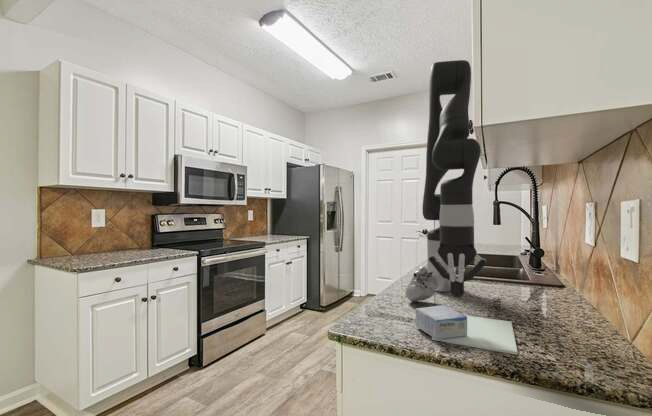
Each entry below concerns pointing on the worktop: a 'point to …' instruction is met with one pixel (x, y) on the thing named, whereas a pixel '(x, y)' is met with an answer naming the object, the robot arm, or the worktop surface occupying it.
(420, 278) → the heart
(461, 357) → the worktop surface
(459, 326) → the medicine box
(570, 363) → the worktop surface
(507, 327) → the cutting board
